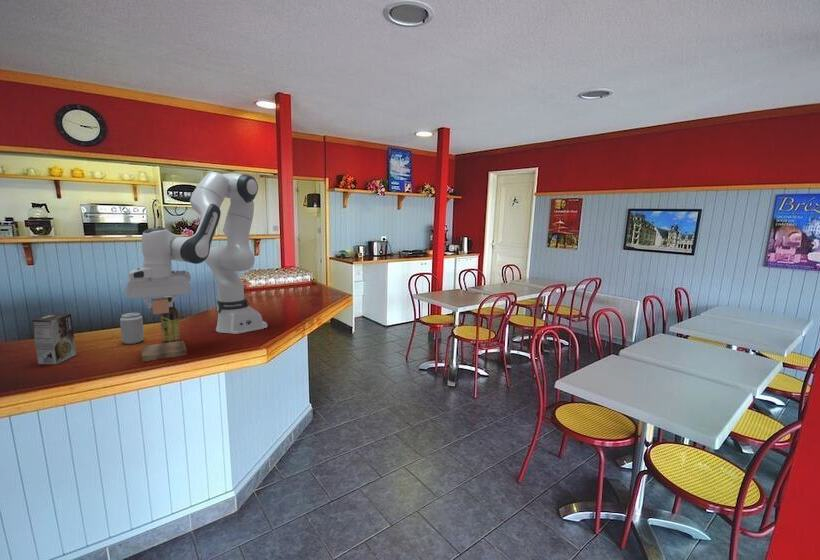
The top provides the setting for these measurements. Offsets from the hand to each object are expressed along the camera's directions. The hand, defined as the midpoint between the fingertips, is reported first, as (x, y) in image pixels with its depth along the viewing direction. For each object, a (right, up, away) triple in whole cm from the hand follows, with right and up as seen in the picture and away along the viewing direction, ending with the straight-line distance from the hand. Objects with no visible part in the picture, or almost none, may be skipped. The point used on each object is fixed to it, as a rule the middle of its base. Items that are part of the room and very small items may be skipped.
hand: (160, 307), depth 143 cm
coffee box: (-33, -19, -6) cm, 38 cm away
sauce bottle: (-5, -16, +15) cm, 23 cm away
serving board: (0, -18, +3) cm, 18 cm away
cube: (0, -2, 0) cm, 2 cm away
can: (-21, -16, +14) cm, 30 cm away
